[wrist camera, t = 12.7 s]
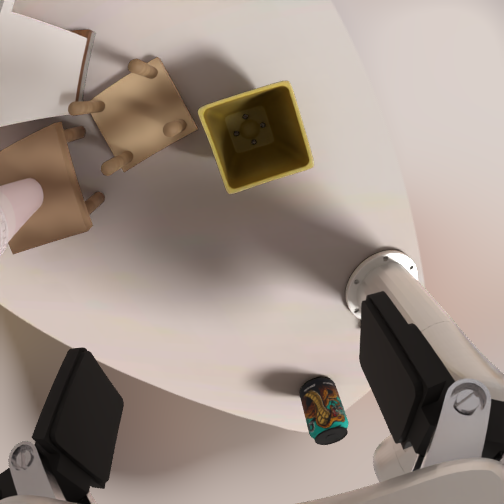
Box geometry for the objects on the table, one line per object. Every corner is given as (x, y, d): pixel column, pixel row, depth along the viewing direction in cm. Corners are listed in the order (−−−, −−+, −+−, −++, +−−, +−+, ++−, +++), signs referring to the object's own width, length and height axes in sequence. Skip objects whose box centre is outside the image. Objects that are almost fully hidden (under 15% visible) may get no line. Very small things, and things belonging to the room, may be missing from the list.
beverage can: (323, 370, 54) (340, 421, 43) (339, 385, 57) (357, 433, 46) (292, 388, 56) (303, 439, 45) (310, 402, 58) (323, 450, 48)
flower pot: (295, 153, 37) (316, 168, 29) (227, 175, 37) (227, 196, 29) (274, 85, 33) (289, 78, 25) (202, 107, 33) (195, 108, 25)
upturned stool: (198, 128, 34) (190, 135, 27) (127, 169, 36) (103, 187, 28) (160, 58, 30) (142, 46, 22) (90, 103, 31) (57, 105, 24)
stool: (112, 205, 37) (87, 231, 30) (43, 227, 38) (13, 254, 30) (87, 117, 32) (54, 123, 24) (18, 149, 32) (-20, 163, 24)
